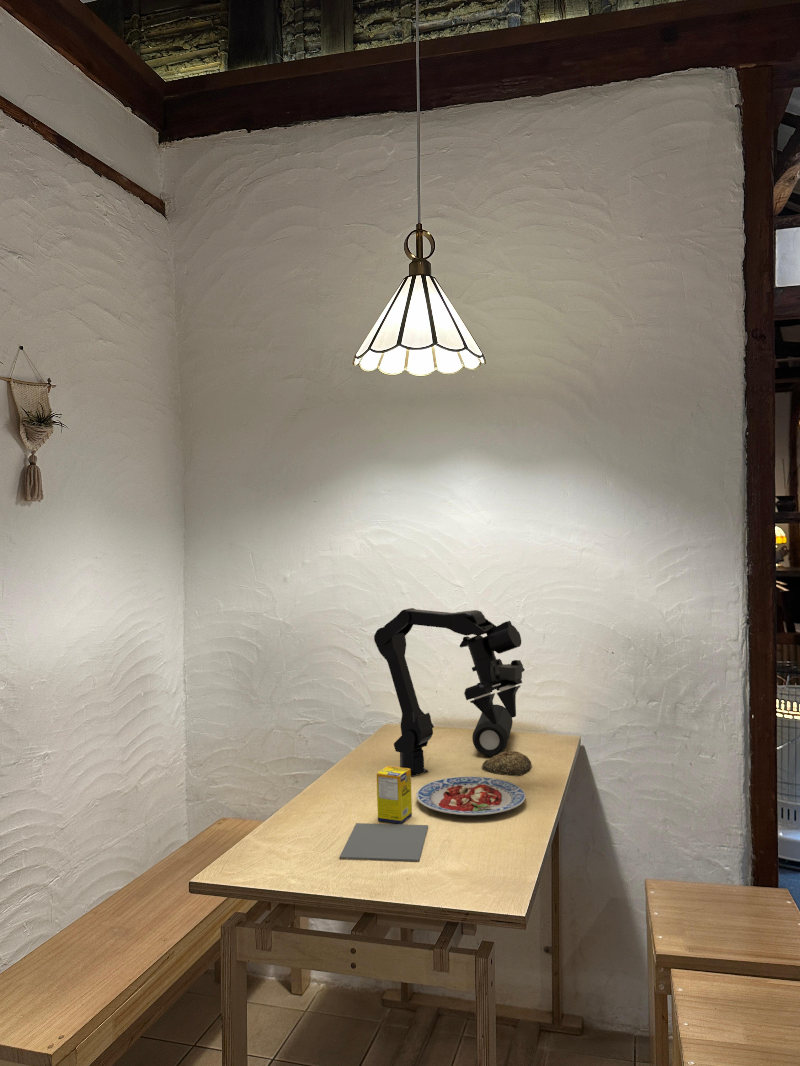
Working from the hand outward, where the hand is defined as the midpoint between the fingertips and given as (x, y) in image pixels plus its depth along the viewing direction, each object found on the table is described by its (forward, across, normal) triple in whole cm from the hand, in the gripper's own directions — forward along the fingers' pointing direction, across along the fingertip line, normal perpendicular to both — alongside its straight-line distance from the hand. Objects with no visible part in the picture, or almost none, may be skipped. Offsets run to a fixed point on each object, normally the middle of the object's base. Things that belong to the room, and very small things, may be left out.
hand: (504, 720), depth 202 cm
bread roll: (+13, +16, +14) cm, 25 cm away
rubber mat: (+15, -41, +12) cm, 46 cm away
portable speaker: (+7, +32, +27) cm, 42 cm away
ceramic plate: (+16, -11, +10) cm, 21 cm away
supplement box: (+13, -30, +18) cm, 37 cm away
